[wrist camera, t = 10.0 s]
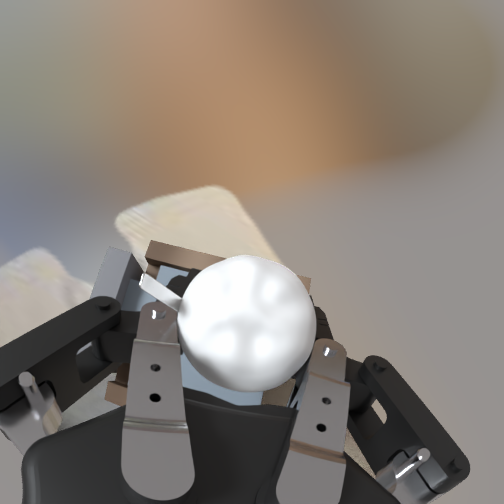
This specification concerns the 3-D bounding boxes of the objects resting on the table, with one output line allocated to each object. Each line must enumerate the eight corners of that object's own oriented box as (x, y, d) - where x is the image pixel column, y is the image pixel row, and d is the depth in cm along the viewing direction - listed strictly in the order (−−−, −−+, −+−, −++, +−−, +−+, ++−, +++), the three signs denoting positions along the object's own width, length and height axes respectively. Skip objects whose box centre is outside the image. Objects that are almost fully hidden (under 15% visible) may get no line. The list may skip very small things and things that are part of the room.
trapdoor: (102, 367, 20) (71, 364, 15) (130, 271, 24) (109, 244, 19) (249, 409, 21) (261, 421, 15) (270, 307, 25) (286, 288, 19)
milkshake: (196, 300, 17) (168, 208, 8) (280, 319, 17) (344, 249, 8) (178, 370, 15) (115, 359, 6) (266, 390, 15) (324, 408, 6)
